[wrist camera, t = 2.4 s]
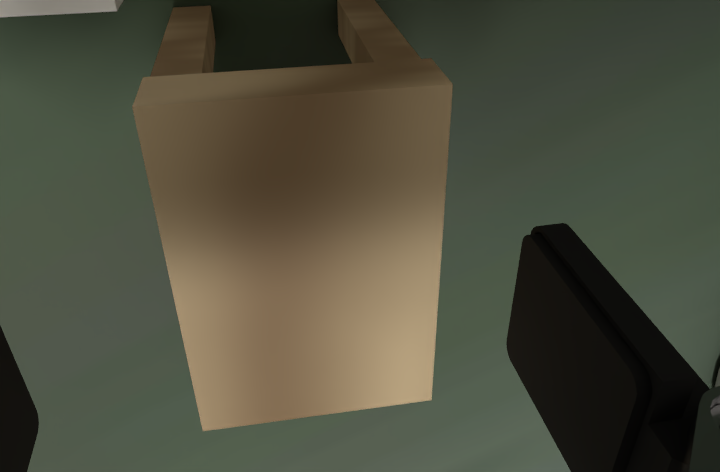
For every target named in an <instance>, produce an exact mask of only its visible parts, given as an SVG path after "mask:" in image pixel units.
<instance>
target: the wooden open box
mask: <svg viewBox="0 0 720 472" xmlns="http://www.w3.org/2000/svg"><path fill="white" fill-rule="evenodd" d="M337 5H338V35H339V37H340V39H341V41H342V43H343V45H344V47H345V49H346V51H347V53H348V55H349V58H350V60H351V62H352V64H338V65H322V66H307V67H292V68H276V69H261V70H246V71H231V72H215V73H213V67H214V55H215V44H216V41H215V34H214V27H213V19H212V12H211V6H192V7H173V10H172V13H171V16H170V19H169V22H168V25H167V28H166V31H165V34H164V37H163V40H162V43H161V46H160V49H159V52H158V55H157V58H156V61H155V64H154V67H153V70H152V73H151V76H150V77H143V79H142V81H141V84H140V87H139V90H138V93H137V95H136V98H135V101H134V104H133V106H132V108H133V112H134V117H135V122H136V126H137V131H138V135H139V140H140V145H141V149H142V154H143V158H144V163H145V167H146V172H147V177H148V181H149V186H150V190H151V195H152V200H153V204H154V209H155V213H156V218H157V223H158V227H159V232H160V236H161V241H162V245H163V250H164V255H165V259H166V264H167V268H168V273H169V278H170V282H171V287H172V291H173V296H174V300H175V305H176V310H177V314H178V319H179V323H180V328H181V333H182V337H183V342H184V346H185V351H186V356H187V360H188V365H189V369H190V374H191V378H192V383H193V388H194V392H195V397H196V401H197V406H198V411H199V415H200V420H201V424H202V429H203V431H208V430H215V429H222V428H230V427H237V426H244V425H252V424H259V423H266V422H274V421H281V420H288V419H296V418H303V417H310V416H318V415H325V414H332V413H340V412H347V411H355V410H362V409H369V408H377V407H384V406H391V405H399V404H406V403H413V402H421V401H428V400H431V398H432V384H433V369H434V354H435V339H436V325H437V310H438V295H439V280H440V266H441V251H442V236H443V221H444V207H445V192H446V177H447V162H448V148H449V133H450V118H451V103H452V89H453V84H452V83H451V81H450V80H449V79H448V78H447V77H446V75H445V74H444V73H443V72H442V71H441V69H440V68H439V67H438V66H437V65H436V63H435V62H434V61H433V60H432V59H431V58H430V59H421V58H420V57H419V55H418V54H417V53H416V52H415V50H414V49H413V48H412V47H411V45H410V44H409V43H408V42H407V40H406V39H405V38H404V37H403V35H402V34H401V33H400V31H399V30H398V29H397V28H396V26H395V25H394V24H393V23H392V21H391V20H390V19H389V18H388V16H387V15H386V14H385V13H384V11H383V10H382V9H381V7H380V6H379V5H378V4H377V2H376V1H375V0H337Z"/></svg>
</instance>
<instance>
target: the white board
mask: <svg viewBox="0 0 720 472" xmlns="http://www.w3.org/2000/svg"><path fill="white" fill-rule="evenodd" d="M123 1H124V0H0V17H17V16H36V15H55V14H74V13H93V12H113V11H117V10H118V9H119V7H120V5H121V4H122V2H123Z"/></svg>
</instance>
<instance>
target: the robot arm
mask: <svg viewBox="0 0 720 472" xmlns="http://www.w3.org/2000/svg"><path fill="white" fill-rule="evenodd" d="M507 351H508V355H509V358H510V360H511V362H512V364H513V366H514V368H515V370H516V371H517V373H518V375H519V377H520V379H521V381H522V382H523V384H524V386H525V388H526V390H527V392H528V393H529V395H530V397H531V399H532V401H533V403H534V404H535V406H536V408H537V410H538V412H539V414H540V415H541V417H542V419H543V421H544V423H545V425H546V426H547V428H548V430H549V432H550V434H551V436H552V437H553V439H554V441H555V443H556V445H557V447H558V448H559V450H560V452H561V454H562V456H563V458H564V459H565V461H566V463H567V465H568V467H569V469H570V470H571V472H720V368H719V371H718V376H717V380H716V384H715V387H713V388H711V389H709V387H708V386H707V385H706V384H705V383H704V382H703V381H702V379H701V378H700V377H699V376H698V375H697V374H696V372H695V371H694V370H693V369H692V368H691V367H690V365H689V364H688V363H687V362H686V361H685V360H684V358H683V357H682V356H681V355H680V354H679V353H678V352H677V350H676V349H675V348H674V347H673V346H672V345H671V343H670V342H669V341H668V340H667V339H666V338H665V336H664V335H663V334H662V333H661V332H660V331H659V329H658V328H657V327H656V326H655V325H654V324H653V323H652V321H651V320H650V319H649V318H648V317H647V316H646V314H645V313H644V312H643V311H642V310H641V309H640V307H639V306H638V305H637V304H636V303H635V302H634V301H633V299H632V298H631V297H630V296H629V295H628V294H627V292H625V290H624V289H623V288H622V287H621V286H620V285H619V283H618V282H617V281H616V280H615V279H614V278H613V276H612V275H611V274H610V273H609V272H608V271H607V269H606V268H605V267H604V266H603V265H602V264H601V262H600V261H599V260H598V259H597V258H596V257H595V256H594V254H593V253H592V252H591V251H590V250H589V249H588V247H587V246H586V245H585V244H584V243H583V242H582V240H581V239H580V238H579V237H578V236H577V235H576V233H575V232H574V231H573V230H572V229H571V228H570V227H569V226H568V225H567V224H564V223H560V224H552V225H544V226H536V227H534V228H533V230H532V231H531V235H526V236H525V237H524V238H523V242H522V247H521V254H520V260H519V266H518V273H517V279H516V285H515V292H514V298H513V304H512V311H511V317H510V323H509V329H508V336H507ZM38 425H39V422H38V413H37V410H36V408H35V405H34V403H33V401H32V398H31V396H30V394H29V391H28V389H27V387H26V384H25V382H24V380H23V377H22V375H21V373H20V370H19V368H18V366H17V364H16V361H15V359H14V357H13V354H12V352H11V350H10V347H9V345H8V343H7V340H6V338H5V336H4V333H3V331H2V329H1V326H0V472H27V469H28V466H29V462H30V458H31V455H32V451H33V448H34V444H35V440H36V437H37V433H38Z"/></svg>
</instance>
